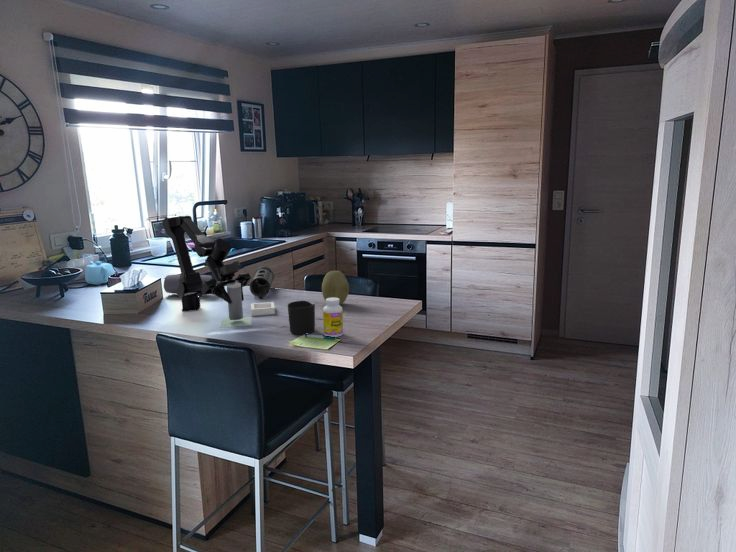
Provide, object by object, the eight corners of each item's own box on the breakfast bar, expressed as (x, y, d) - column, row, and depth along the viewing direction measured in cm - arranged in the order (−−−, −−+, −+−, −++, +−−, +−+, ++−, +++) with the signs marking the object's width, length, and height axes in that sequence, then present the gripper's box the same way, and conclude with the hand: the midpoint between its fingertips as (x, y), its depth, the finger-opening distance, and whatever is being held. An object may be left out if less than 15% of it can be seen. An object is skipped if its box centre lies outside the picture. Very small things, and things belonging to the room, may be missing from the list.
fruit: (354, 303, 214) (353, 269, 211) (338, 310, 205) (337, 274, 202) (332, 300, 220) (331, 266, 217) (316, 306, 211) (315, 271, 208)
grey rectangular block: (226, 319, 186) (224, 285, 184) (233, 315, 191) (230, 282, 188) (239, 320, 185) (236, 285, 183) (245, 316, 190) (243, 282, 187)
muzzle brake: (249, 300, 224) (248, 277, 222) (255, 285, 251) (254, 265, 249) (271, 299, 225) (270, 276, 223) (275, 284, 252) (273, 264, 250)
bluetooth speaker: (163, 297, 230) (161, 276, 228) (175, 292, 239) (172, 272, 237) (210, 299, 226) (208, 277, 224) (219, 294, 235) (218, 273, 233)
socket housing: (251, 318, 196) (251, 309, 195) (251, 311, 205) (250, 303, 204) (275, 316, 198) (274, 307, 197) (274, 310, 207) (273, 301, 206)
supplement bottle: (330, 339, 170) (329, 302, 168) (320, 334, 176) (318, 298, 173) (346, 335, 174) (345, 299, 171) (336, 330, 179) (335, 295, 177)
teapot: (104, 278, 273) (102, 257, 271) (120, 283, 262) (117, 261, 260) (80, 282, 264) (77, 261, 262) (95, 287, 253) (91, 265, 250)
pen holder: (317, 327, 184) (316, 300, 182) (313, 335, 175) (312, 307, 172) (291, 327, 184) (290, 300, 182) (286, 335, 175) (285, 308, 173)
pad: (220, 330, 182) (220, 327, 182) (222, 321, 193) (221, 318, 193) (251, 327, 185) (251, 324, 184) (251, 318, 195) (251, 316, 195)
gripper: (202, 258, 179) (222, 293, 174) (246, 251, 193) (266, 284, 188) (192, 277, 186) (211, 311, 181) (236, 269, 199) (254, 301, 195)
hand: (236, 301), depth 186 cm, fingers closed on grey rectangular block, 5 cm apart
